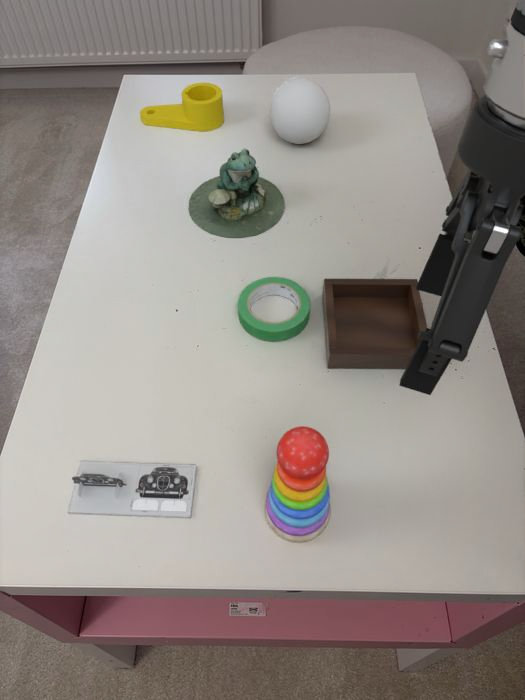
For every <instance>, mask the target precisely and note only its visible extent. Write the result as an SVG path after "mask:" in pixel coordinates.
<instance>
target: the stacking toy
mask: <svg viewBox="0 0 525 700" xmlns="http://www.w3.org/2000/svg"><path fill="white" fill-rule="evenodd" d="M329 457H330V449H329V445H328V443H327V441H326V439H325V437H324V436H323V434H322V433H320V431H318V430H317V429H315V428H312V427H310V426H306V425H305V426H303V425H301V426H295V427H292V428H290V429H289V430H287V431H286V432H285V433H283V434H282V436H281V438H280V439H279V440H278V443H277V446H276V458H277V462H276V464H275V466H274V469H273V474H272V476H271V477H272V478H271V483H270V485H269V489H268V492H267V493H266V498H265V502H264V516H265V519H266V521H267V524H268V525H269V527H270V529H271V530H272V531H273V532H274V533H275V535H276V536H278V537H279V538H281V539H282V540H285V541H286V542H291V543H295V544H297V543H298V544H301V543H307V542H310V541H313V540H315V539H317V538H318V537H320V536H321V534H322V533H323V532H324V531H325V530H326V528H327V526H328V524H329V522H330V519H331V514H332V513H331V512H332V507H331V495H330V494H331V493H330V486H329V482H328V477H327V464H328V463H329Z"/></svg>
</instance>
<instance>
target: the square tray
mask: <svg viewBox="0 0 525 700" xmlns="http://www.w3.org/2000/svg"><path fill="white" fill-rule="evenodd" d="M418 281H419V280H418V279H417V278H324V279H323V285H322V294H321V295H322V309H323V324H324V341H325V355H326V356H325V357H326V369H327V370H328V369H331V370H332V369H334V370H335V369H338V370H339V369H340V370H342V369H343V370H348V369H350V370H358V369H359V370H405V369H406V367H407V365H408V363H409V361H410V359H411V357H412V355H413V353H414V351H415V349H416V347H417V345H418V343H419V342H420V340H421V339H419V338H418V332H419V330H421V331H424V332H425V330H426V328H428V324H427V319H426V315H425V314H426V313H425V309H424V306H423V305H424V304H423V299H422V295H421V291H420V290H417V289H416V287H417V284H418Z"/></svg>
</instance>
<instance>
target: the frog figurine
mask: <svg viewBox="0 0 525 700" xmlns="http://www.w3.org/2000/svg"><path fill="white" fill-rule="evenodd" d="M256 164H257V161H256V158H255V157H254V156H252V155H251V154H250V150H249V149H247V148H246V147H244V148H242V149H241V150H240V152H237V151H234V152H232V153H231V154H230V157H229V158H227V161H226V162H225V163H223V164H221V166H220V168H219V175H217V176H215V177H213V178H210V179H208V180H207V181H203V183H201V184H200V185H198V187H196V189H195V190H194V191H193V192H192V193H191V195H190V197H189V199H188V213H189V216H190V218H191V219H192V221H193V222H194V224H196V225H197V227H199V228H200V229H202V230H203V231H205V232H207V233H209V234H212V235H215V236H218V237H221V238H222V237H223V238H229V239H232V238H233V239H241V238H249V237H253V236H257V235H259V234H262V233H264V232H266V231H268V230H269V229H271V228H272V227H274V226H275V225H276V224H277V223H278V222H279V221H280V220H281V218H282V216H283V214H284V213H285V212H284V211H285V207H286V202H285V198H284V194H283V193H282V192H281V190H280V189H279V188H278V187H277V186H276V185H275V184H274V183H273V182H271V181H270V180H268V179H266V178H265V177H262V176H260V172H259V170H258V167H257V166H256Z"/></svg>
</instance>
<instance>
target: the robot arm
mask: <svg viewBox="0 0 525 700" xmlns="http://www.w3.org/2000/svg"><path fill="white" fill-rule="evenodd" d="M505 32H506V33H505V34H506V38H505V39H504V38H501V39H500V38H493V39H492V40H490V41H489V44H488V46H487V49H486V53H487V54H488V56H490V57H491V58H494V59H493V61H492V63H491V66H490V68H489V70H488V74H487V75H486V77H485V80H484V83H483V86H482V89H483V92H484V95H482V96H481V97H479V98H477V100H476V101H475V102H474V105H473V107H472V109H471V111H470V114H469V117H468V119H467V121H466V123H465V125H464V129H463V132H462V134H461V136H460V139H459V141H458V143H457V154H458V156H459V159H460V161H461V162H462V163H463V165H464V166H465V167H466V168H467V169H468V171H467V173H466V174H465V176H464V177H463V179H462V180H461V183H460V185H458V186H459V187H458V188H457V189H456V192H455V193H454V195H453V197H452V199H451V201H450V202H449V204H448V206H446V208H445V216H447V217H446V218H445V219H444V221H442V224H441V228H442V229H441V231H442V232H444V234H443V233H439V234H438V236H437V239H436V241H435V243H434V245H433V248H432V250H431V252H430V255H429V257H428V259H427V261H426V263H425V265H424V268H423V270H422V272H421V275H420V277H419V280H418V284H417V287H416V289H417V290H420V292H424V293H427V294H431V295H434V296H438V297H440V299H439V301H438V304H437V307H436V310H435V314H434V317H433V319H432V322H431V326H430V327H427V328H426V330H425V332H424V331H421V330H419V332H418V338H419V339H421V340H420V342H419V343H418V345H417V347H416V349H415V351H414V353H413V355H412V357H411V359H410V361H409V363H408V365H407V367H406V369H404V372H403V374H402V375H401V377H400V380H399V387H401V388H402V387H403V388H405V389H408V390H412V391H415V392H419V393H422V394H424V395H428V396H431V394H432V393H433V391H434V390H435V388H436V386H437V385H438V384H439V382H440V380H441V378H442V376H443V375H444V373H445V371H446V370H447V368H448V366H449V365H450V363H451V361H452V360H455V361H458V362H461V363H463V362H464V361H465V359H466V358H467V357H468V354H469V350H470V348H471V345H472V343H473V341H474V338H475V336H476V334H477V331H478V329H479V326H480V324H481V322H482V320H483V318H484V315H485V314H486V313H485V312H486V310H487V308H488V305H489V303H490V301H491V298H492V296H493V294H494V291H495V289H496V288H497V284H498V282H499V280H500V278H501V275H502V273H503V271H504V269H505V266H506V263H507V261H508V260H509V258H510V256H511V254H512V252H513V250H514V249H515V247H516V245H517V243H518V241H520V240H521V238H522V237H521V236H522V229H523V228H522V227H521V226H518V223H519V221H520V218H521V216H522V212H523V209H524V205H523V204H520V202H521V200H522V198H523V197H524V196H525V0H518V2H516V6H515V7H514V10H513V11H512V14H511V17H510V21H509V23H508V26H507V28H506V29H505ZM466 239H467V240H466ZM469 241H470V242H469Z"/></svg>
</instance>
